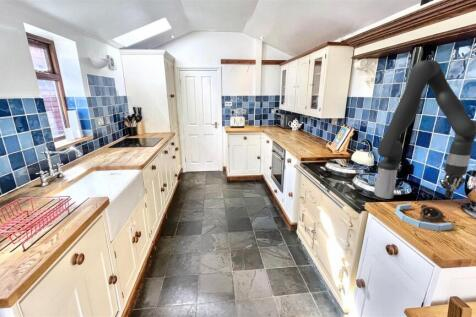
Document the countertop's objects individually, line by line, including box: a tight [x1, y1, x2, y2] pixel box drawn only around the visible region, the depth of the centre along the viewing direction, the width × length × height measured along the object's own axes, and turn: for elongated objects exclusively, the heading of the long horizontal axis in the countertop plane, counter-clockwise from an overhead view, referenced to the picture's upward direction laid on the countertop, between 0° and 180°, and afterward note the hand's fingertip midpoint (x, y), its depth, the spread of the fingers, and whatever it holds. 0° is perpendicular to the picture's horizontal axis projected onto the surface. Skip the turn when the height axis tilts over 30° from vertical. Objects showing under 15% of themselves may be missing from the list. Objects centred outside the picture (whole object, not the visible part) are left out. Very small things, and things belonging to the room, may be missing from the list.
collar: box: [394, 203, 453, 231], centre depth 107 cm, size 14×21×2 cm
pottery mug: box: [418, 204, 445, 223], centre depth 106 cm, size 12×10×8 cm
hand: (448, 197), depth 109 cm, fingers closed
